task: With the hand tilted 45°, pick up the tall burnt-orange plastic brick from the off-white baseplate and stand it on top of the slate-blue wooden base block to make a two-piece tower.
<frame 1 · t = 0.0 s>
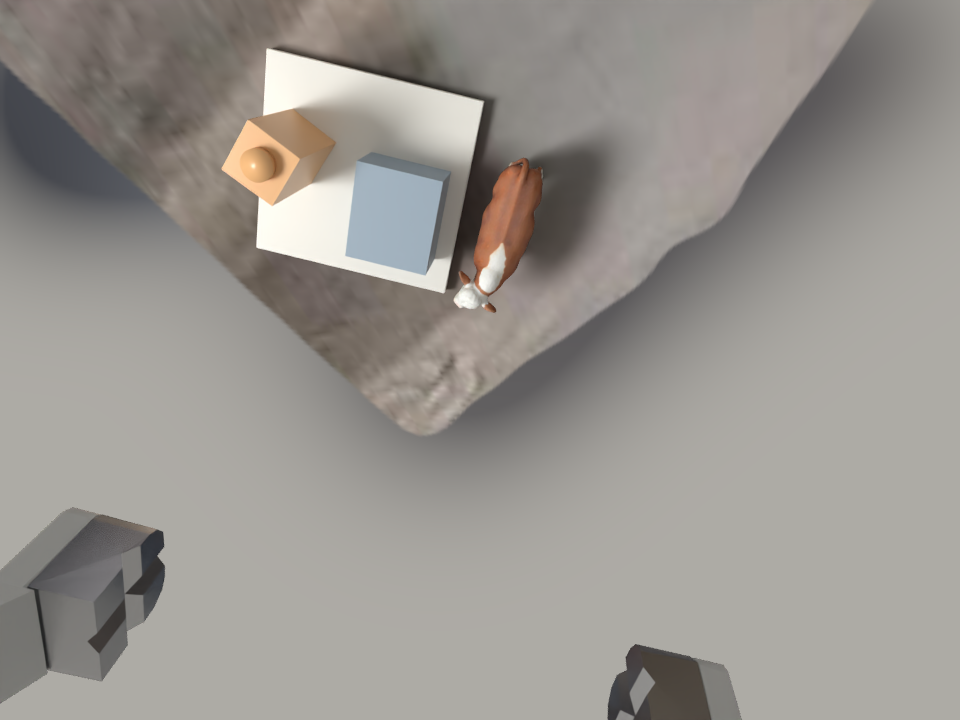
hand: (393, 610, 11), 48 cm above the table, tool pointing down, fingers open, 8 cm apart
bull figurine: (505, 223, 56), on the table
baseplate: (365, 177, 55), on the table
tall brick: (301, 147, 54), point 1 cm above the table, touching baseplate
base block: (403, 207, 55), point 1 cm above the table, touching baseplate
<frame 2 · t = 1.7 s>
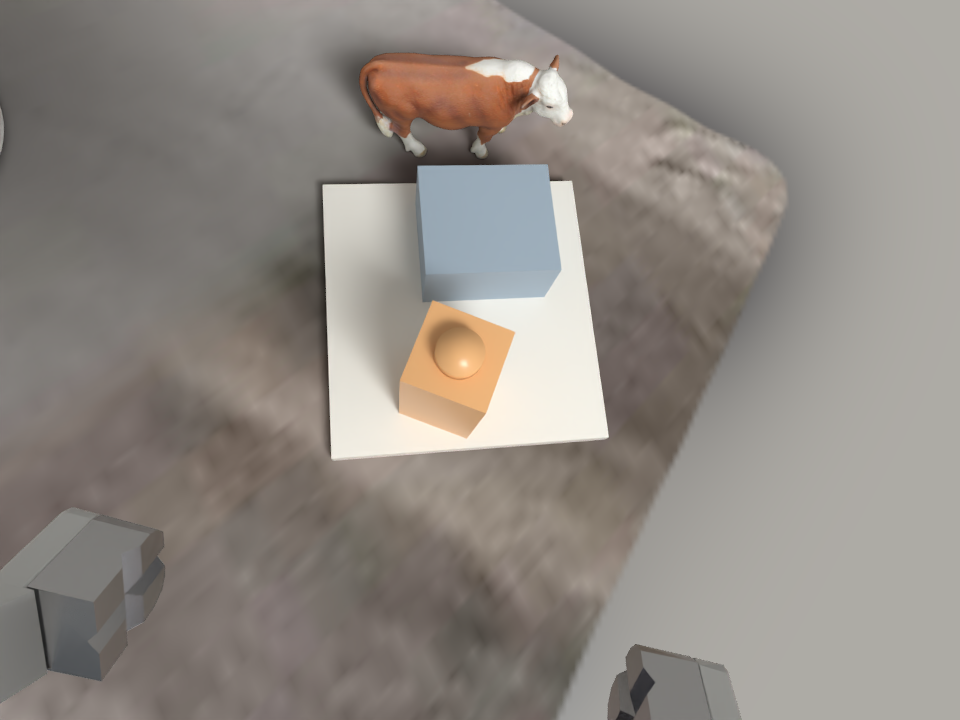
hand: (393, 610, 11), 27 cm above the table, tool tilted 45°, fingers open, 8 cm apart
bull figurine: (459, 141, 45), on the table
baseplate: (460, 312, 41), on the table
tall brick: (445, 392, 39), point 1 cm above the table, touching baseplate
base block: (479, 249, 42), point 1 cm above the table, touching baseplate
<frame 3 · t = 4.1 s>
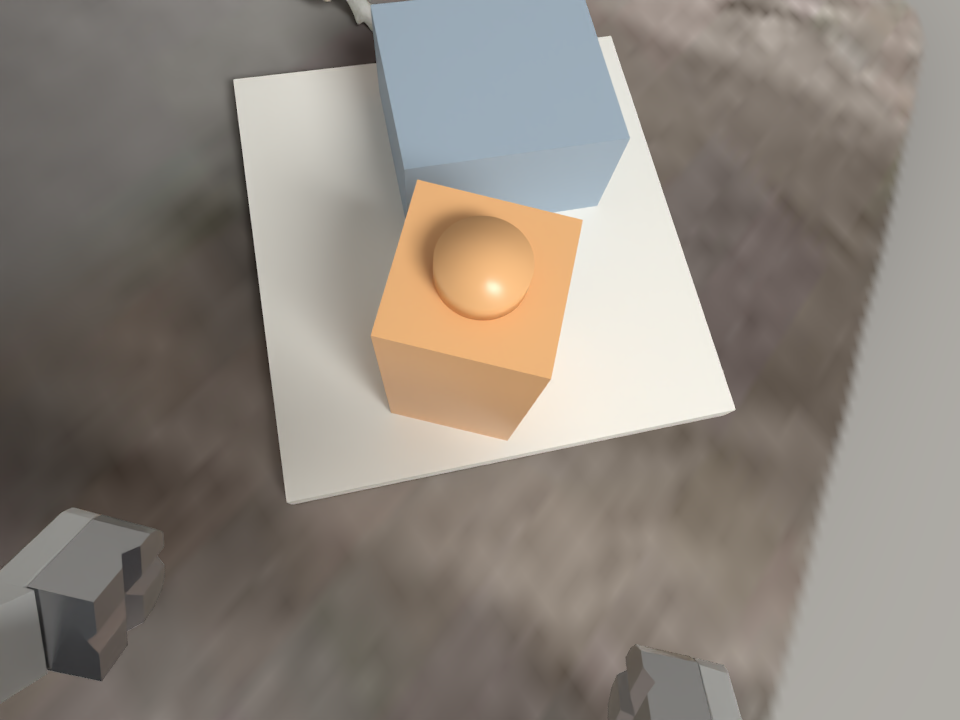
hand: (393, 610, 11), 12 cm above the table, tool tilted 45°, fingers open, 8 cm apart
bull figurine: (435, 7, 30), on the table
baseplate: (470, 247, 26), on the table
tall brick: (463, 371, 24), point 1 cm above the table, touching baseplate
base block: (486, 147, 27), point 1 cm above the table, touching baseplate
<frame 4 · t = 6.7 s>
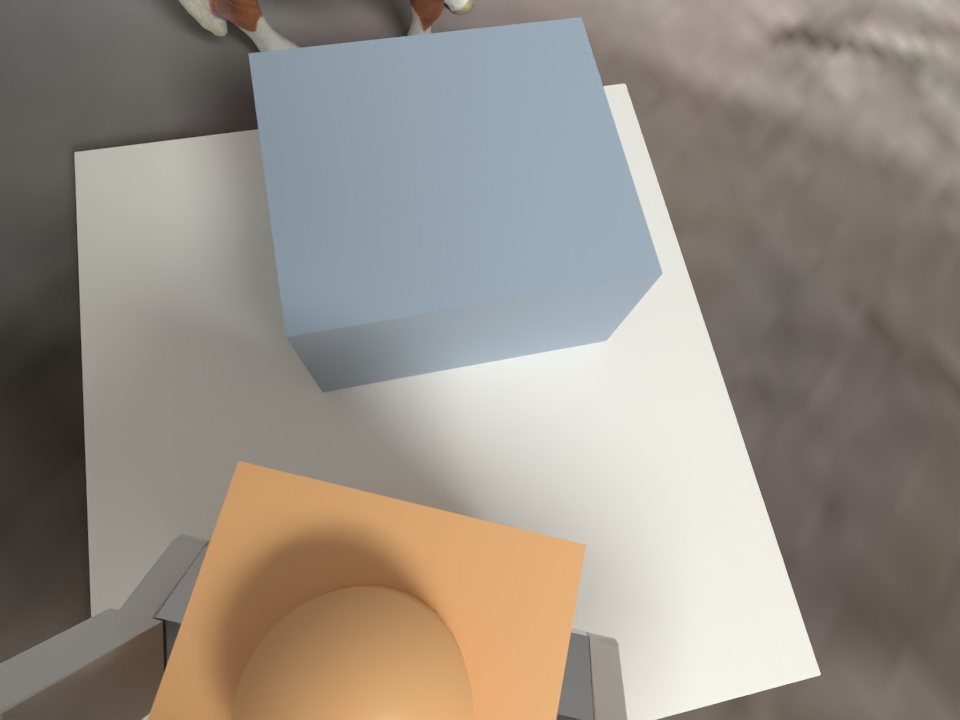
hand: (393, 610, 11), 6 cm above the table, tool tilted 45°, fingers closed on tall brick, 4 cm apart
bull figurine: (381, 40, 22), on the table
baseplate: (419, 401, 18), on the table
tall brick: (398, 620, 15), point 1 cm above the table, touching baseplate, gripper
base block: (444, 252, 18), point 1 cm above the table, touching baseplate
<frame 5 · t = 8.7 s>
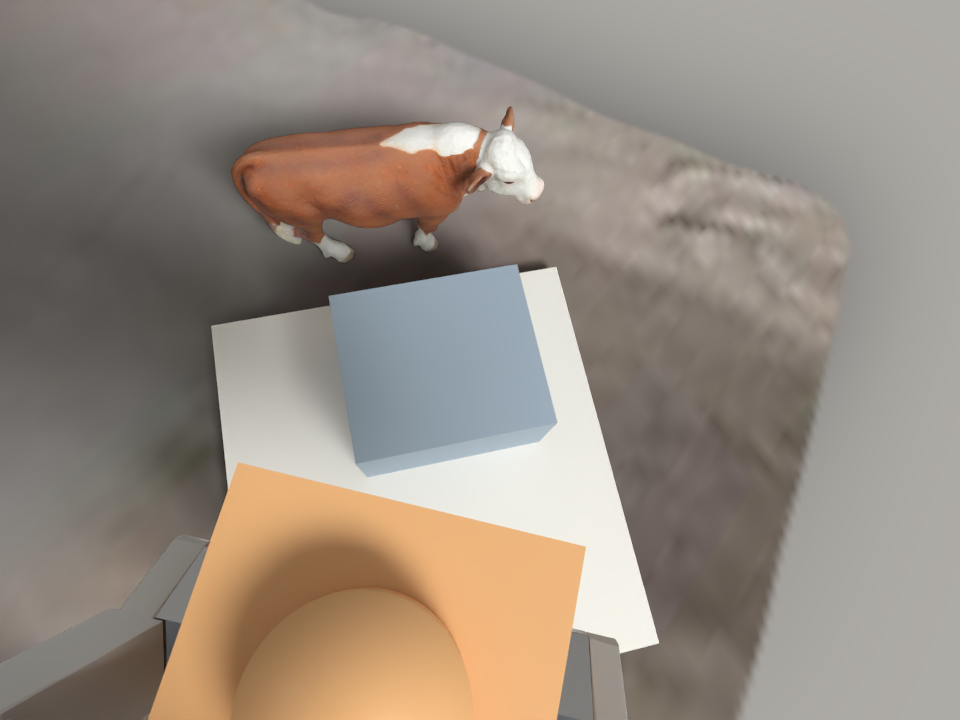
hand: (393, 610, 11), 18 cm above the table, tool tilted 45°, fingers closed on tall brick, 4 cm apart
bull figurine: (398, 232, 33), on the table
baseplate: (424, 479, 29), on the table
tall brick: (398, 621, 15), point 13 cm above the table, touching gripper
base block: (439, 386, 30), point 1 cm above the table, touching baseplate
when the fingers open (12 cm above the table, at t = 10.8 s): tall brick drops 1 cm, resting on base block.
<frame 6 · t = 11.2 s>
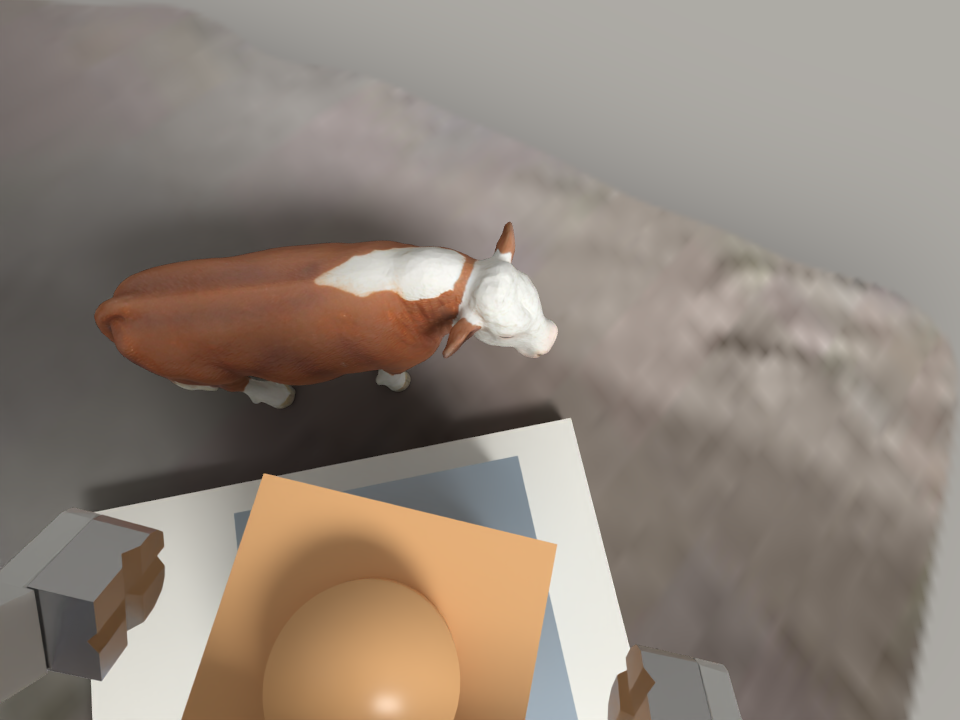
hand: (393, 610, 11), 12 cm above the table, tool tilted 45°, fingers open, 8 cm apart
bull figurine: (357, 361, 25), on the table
tall brick: (398, 613, 17), point 5 cm above the table, touching base block
base block: (407, 601, 21), point 1 cm above the table, touching baseplate, tall brick
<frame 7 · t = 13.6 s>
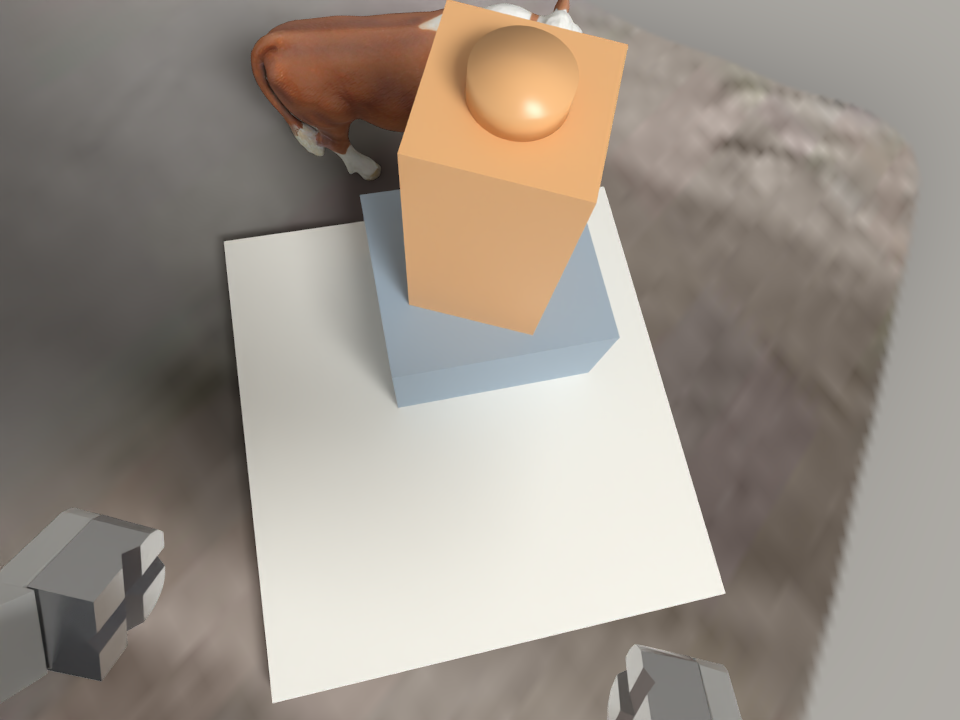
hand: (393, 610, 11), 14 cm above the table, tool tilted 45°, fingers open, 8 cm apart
bull figurine: (428, 150, 30), on the table
baseplate: (460, 413, 26), on the table
tall brick: (485, 264, 22), point 5 cm above the table, touching base block
base block: (477, 311, 27), point 1 cm above the table, touching baseplate, tall brick
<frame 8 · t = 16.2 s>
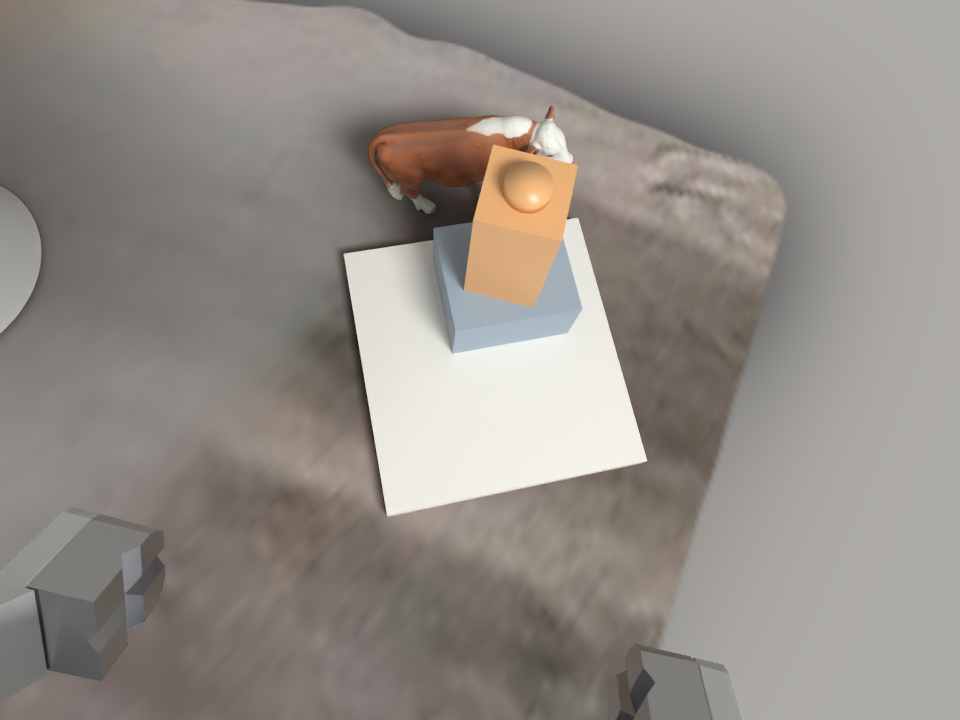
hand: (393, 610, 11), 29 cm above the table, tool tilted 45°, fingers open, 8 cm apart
bull figurine: (466, 194, 47), on the table
baseplate: (489, 358, 43), on the table
tall brick: (506, 267, 39), point 5 cm above the table, touching base block
base block: (499, 296, 43), point 1 cm above the table, touching baseplate, tall brick
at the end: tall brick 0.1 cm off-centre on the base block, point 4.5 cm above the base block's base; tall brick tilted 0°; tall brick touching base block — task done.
